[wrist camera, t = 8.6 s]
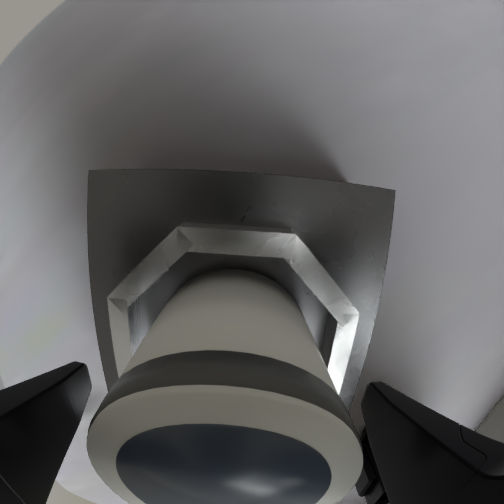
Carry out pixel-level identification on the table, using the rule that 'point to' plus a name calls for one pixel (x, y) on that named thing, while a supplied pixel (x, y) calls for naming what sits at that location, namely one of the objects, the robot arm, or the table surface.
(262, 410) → the lens
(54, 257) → the table surface
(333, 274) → the octagonal rim base plate
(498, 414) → the kettle
